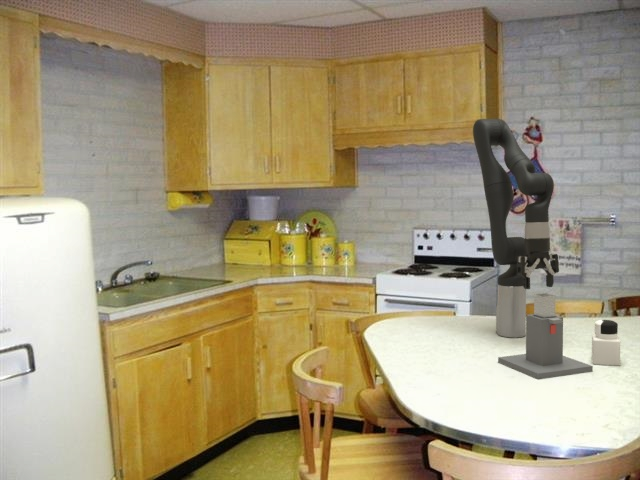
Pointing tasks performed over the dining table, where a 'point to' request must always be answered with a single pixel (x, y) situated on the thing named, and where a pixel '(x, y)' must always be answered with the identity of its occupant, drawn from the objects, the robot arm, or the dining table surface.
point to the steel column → (544, 305)
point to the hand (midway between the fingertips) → (538, 287)
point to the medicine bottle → (606, 343)
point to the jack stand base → (544, 351)
